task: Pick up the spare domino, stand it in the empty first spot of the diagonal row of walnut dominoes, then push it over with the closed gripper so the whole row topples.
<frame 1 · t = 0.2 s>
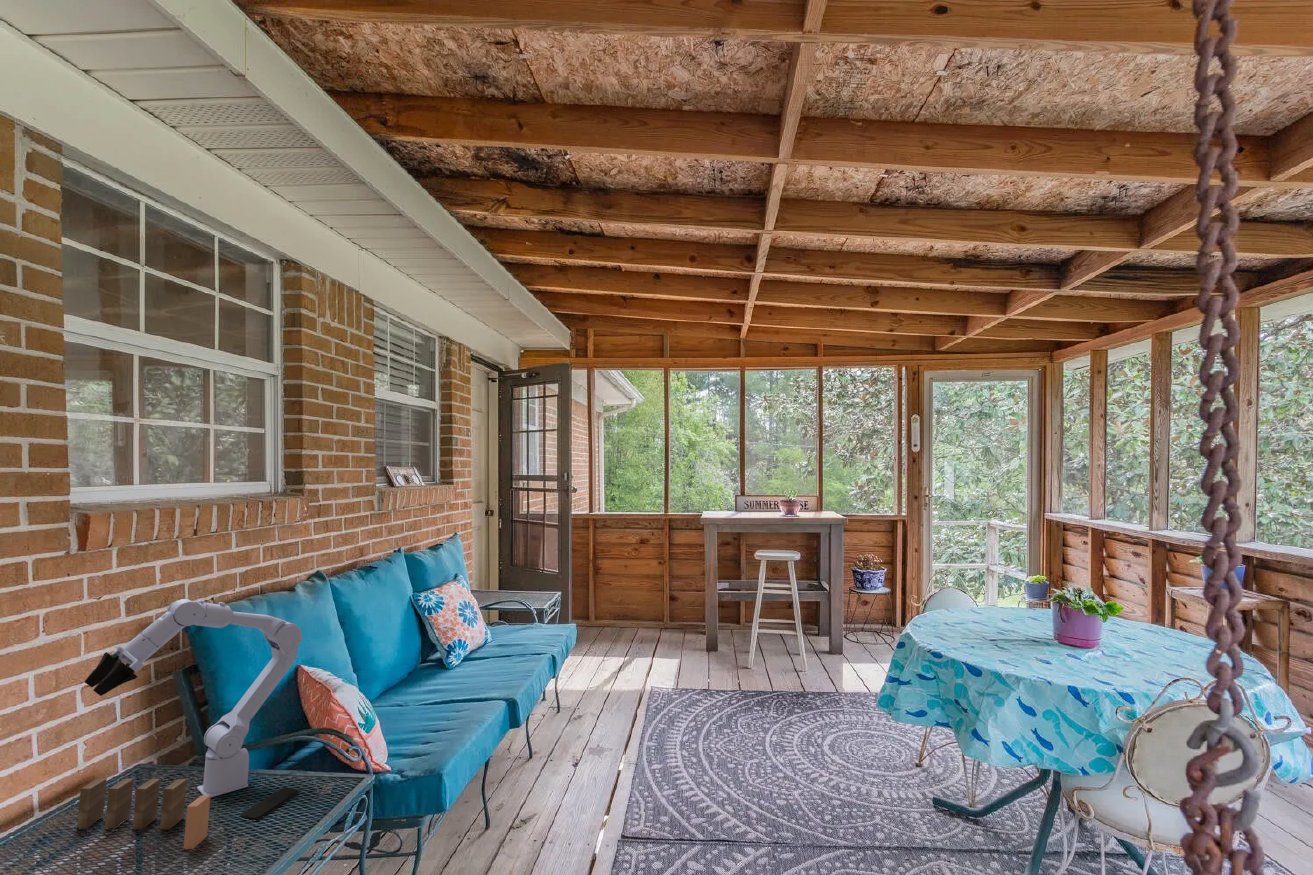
hand: (92, 688, 150), 32 cm above the table, tool tilted 50°, fingers open, 7 cm apart
domino 2: (171, 823, 152), on the table
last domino: (90, 823, 151), on the table
domino 3: (144, 823, 152), on the table
spare domino: (195, 842, 145), on the table
remote control: (270, 808, 162), on the table
domino 4: (117, 823, 151), on the table
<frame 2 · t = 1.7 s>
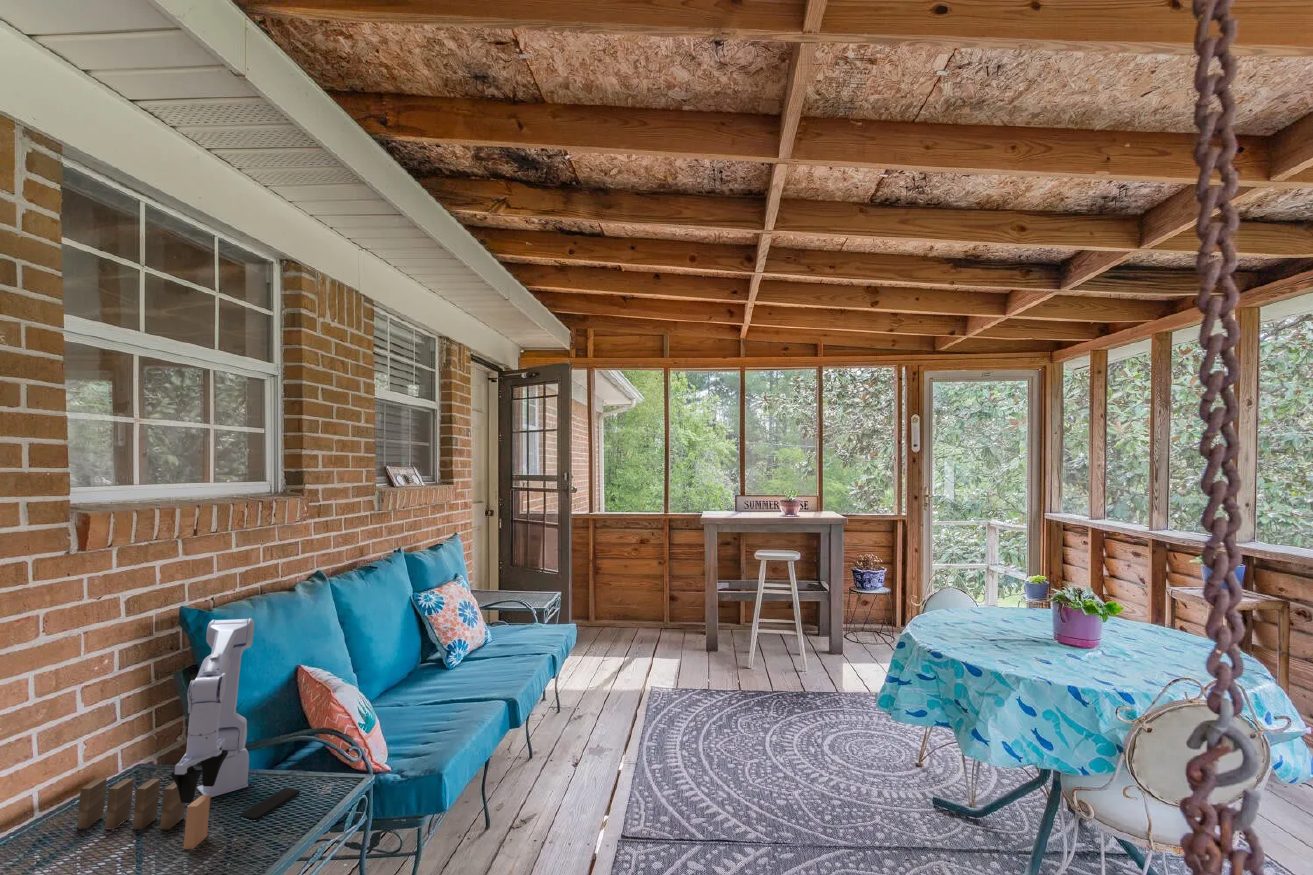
hand: (198, 793, 146), 11 cm above the table, tool pointing down, fingers open, 7 cm apart
nothing on the table moved.
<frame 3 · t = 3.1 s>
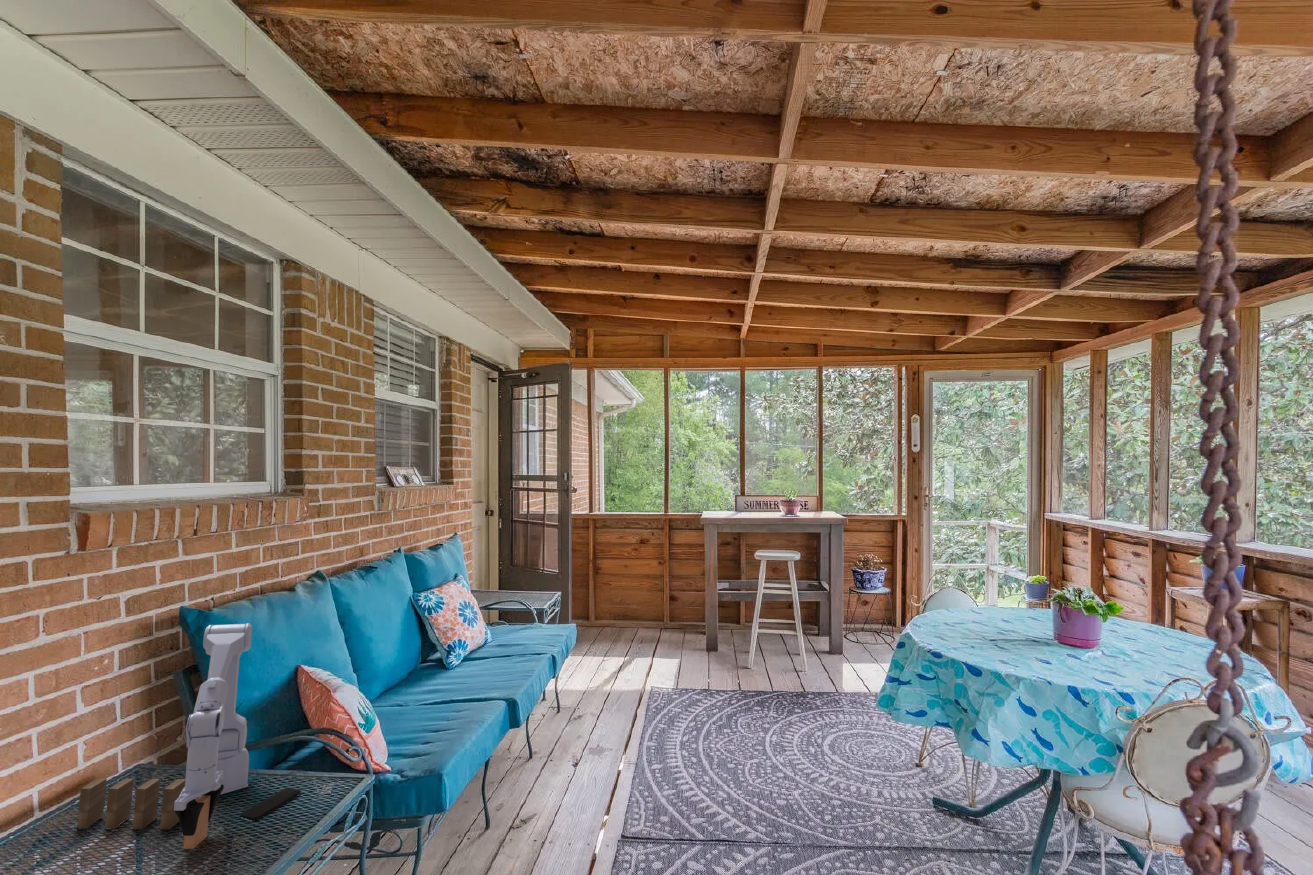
hand: (196, 827, 145), 3 cm above the table, tool pointing down, fingers closed on spare domino, 5 cm apart
spare domino: (195, 842, 145), on the table, touching gripper
everything else where it was.
when the fingers open (4 cm above the table, at t = 6.6 s): spare domino stays where it is, on the table.
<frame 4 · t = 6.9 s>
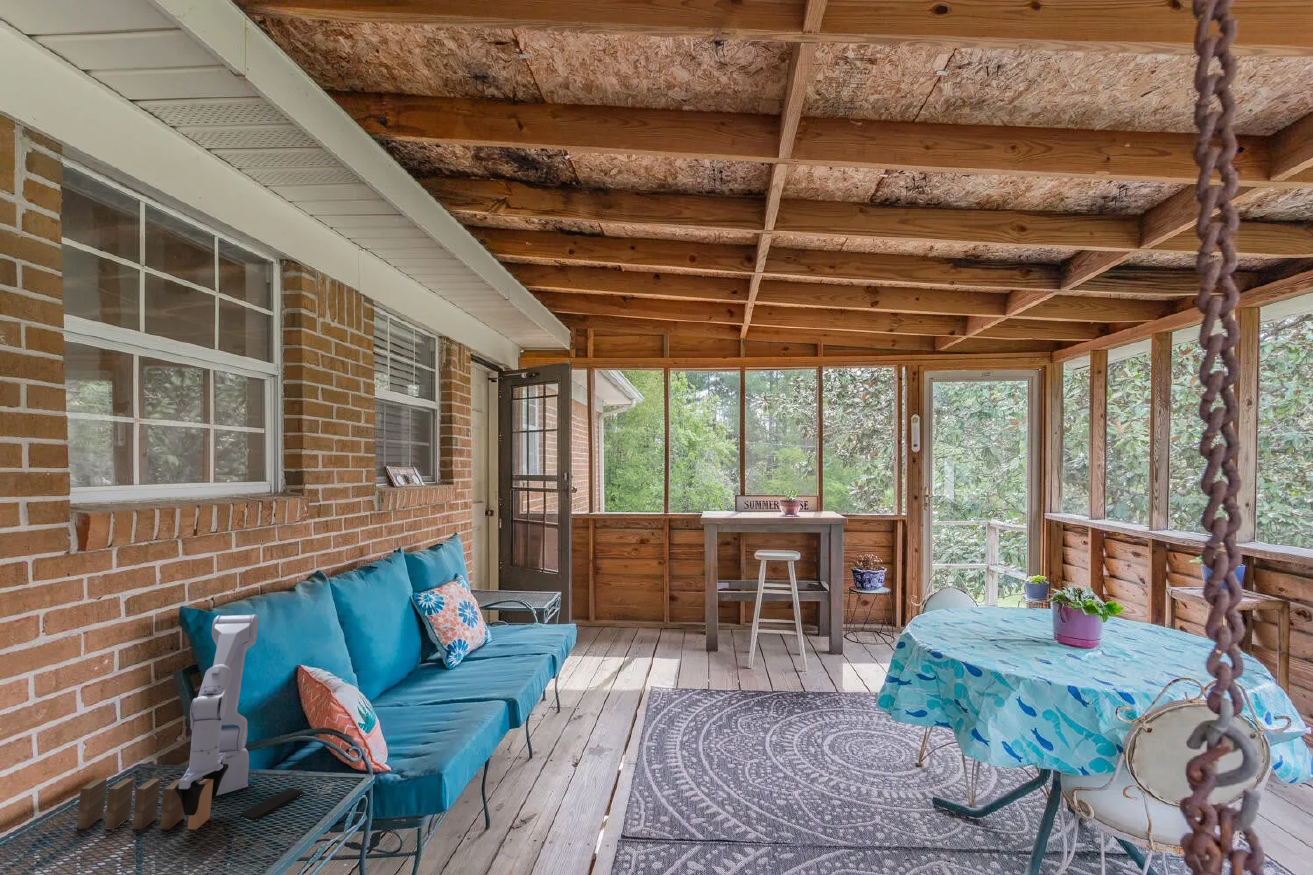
hand: (200, 806, 153), 4 cm above the table, tool pointing down, fingers open, 7 cm apart
spare domino: (198, 823, 153), on the table
everything else where it was.
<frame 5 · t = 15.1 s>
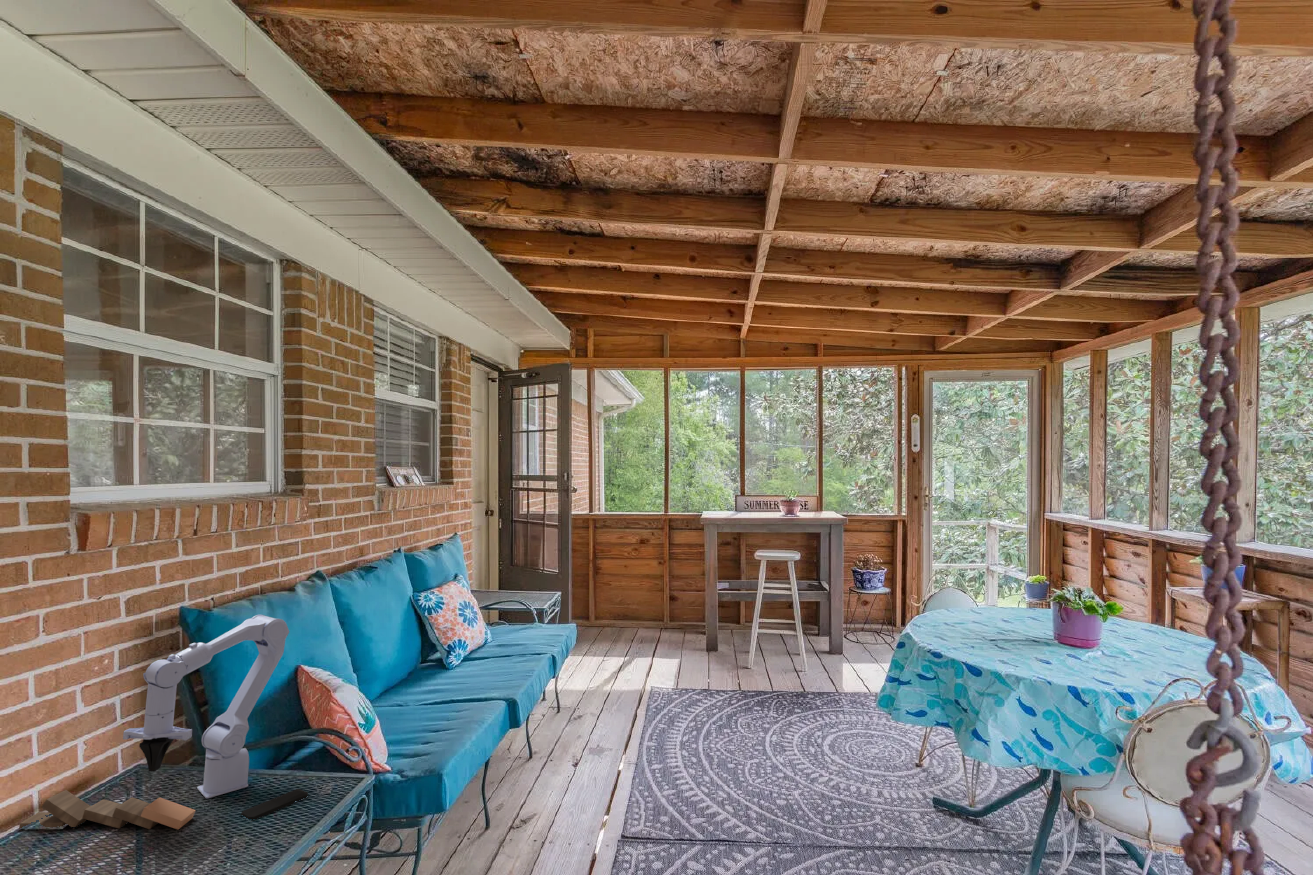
hand: (154, 769, 157), 10 cm above the table, tool pointing down, fingers closed
domino 2: (159, 819, 152), point 1 cm above the table, tilted 72°, touching domino 3, spare domino
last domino: (70, 821, 150), on the table, tilted 90°
domino 3: (129, 818, 152), point 1 cm above the table, tilted 78°, touching domino 2, domino 4
spare domino: (187, 819, 152), point 1 cm above the table, tilted 71°, touching domino 2
domino 4: (85, 819, 151), point 1 cm above the table, tilted 61°, touching domino 3
at the end: spare domino inside the target area (2.3 cm from its centre), point 0.9 cm above the table; spare domino tilted 71°; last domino tilted 90° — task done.
